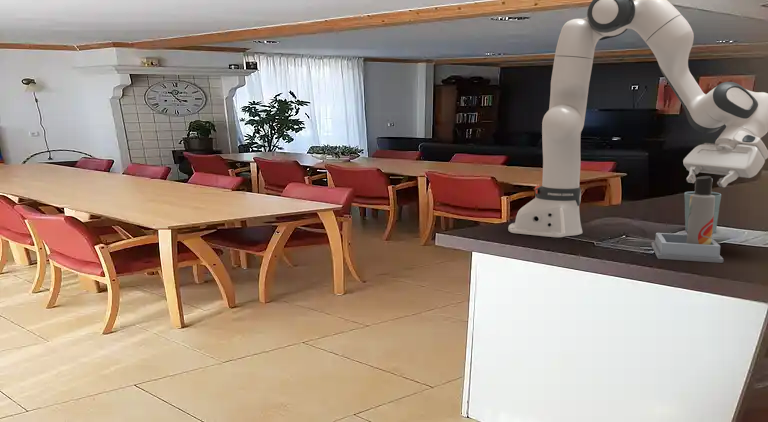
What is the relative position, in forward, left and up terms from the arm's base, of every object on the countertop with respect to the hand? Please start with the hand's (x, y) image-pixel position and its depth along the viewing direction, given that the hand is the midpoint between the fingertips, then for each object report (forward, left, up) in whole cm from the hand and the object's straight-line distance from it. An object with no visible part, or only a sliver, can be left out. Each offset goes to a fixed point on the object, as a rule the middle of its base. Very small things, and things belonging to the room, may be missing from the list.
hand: (704, 183), depth 159 cm
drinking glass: (+5, +31, -19) cm, 37 cm away
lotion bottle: (-1, -5, -18) cm, 19 cm away
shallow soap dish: (-4, -3, -19) cm, 19 cm away
